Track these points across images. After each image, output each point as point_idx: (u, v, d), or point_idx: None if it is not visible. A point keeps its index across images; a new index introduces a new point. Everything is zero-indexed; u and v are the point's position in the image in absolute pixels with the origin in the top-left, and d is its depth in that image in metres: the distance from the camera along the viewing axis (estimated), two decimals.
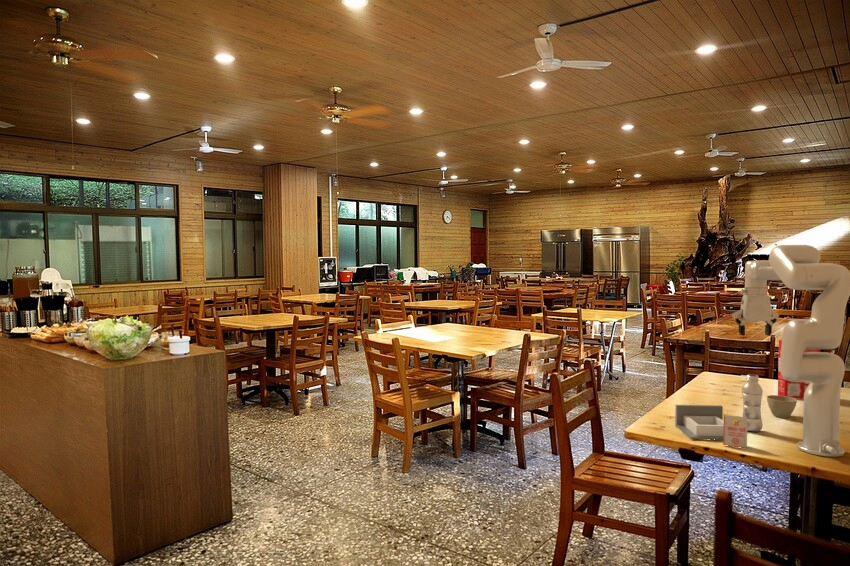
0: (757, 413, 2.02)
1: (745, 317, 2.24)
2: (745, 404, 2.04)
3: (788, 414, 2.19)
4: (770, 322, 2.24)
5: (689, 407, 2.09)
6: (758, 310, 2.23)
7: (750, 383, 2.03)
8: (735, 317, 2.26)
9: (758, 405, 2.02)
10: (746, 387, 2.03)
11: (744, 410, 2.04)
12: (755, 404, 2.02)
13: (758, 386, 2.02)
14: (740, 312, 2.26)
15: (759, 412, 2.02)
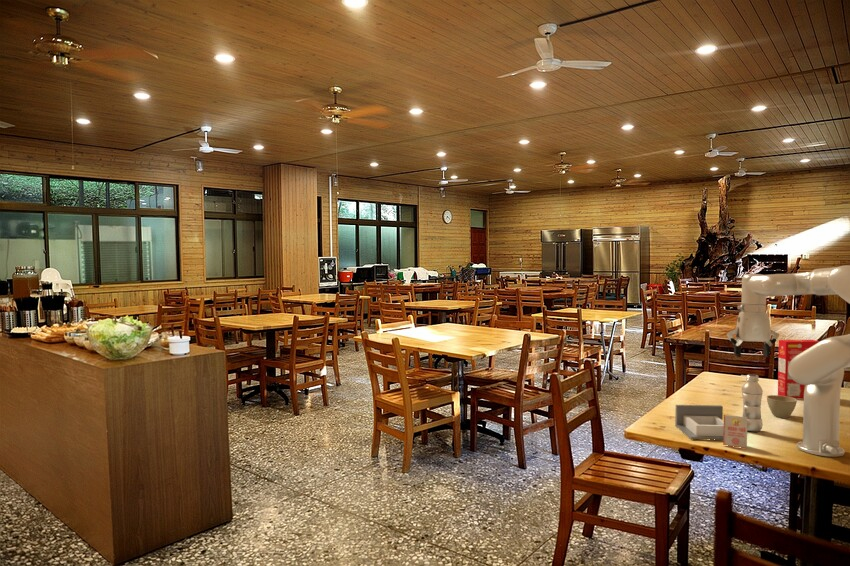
0: (757, 413, 2.02)
1: (741, 337, 2.01)
2: (745, 404, 2.04)
3: (788, 414, 2.19)
4: (769, 342, 2.02)
5: (689, 407, 2.09)
6: (756, 329, 2.00)
7: (750, 383, 2.03)
8: (730, 336, 2.03)
9: (758, 405, 2.02)
10: (746, 387, 2.03)
11: (744, 410, 2.04)
12: (755, 404, 2.02)
13: (758, 386, 2.02)
14: (736, 331, 2.03)
15: (759, 412, 2.02)
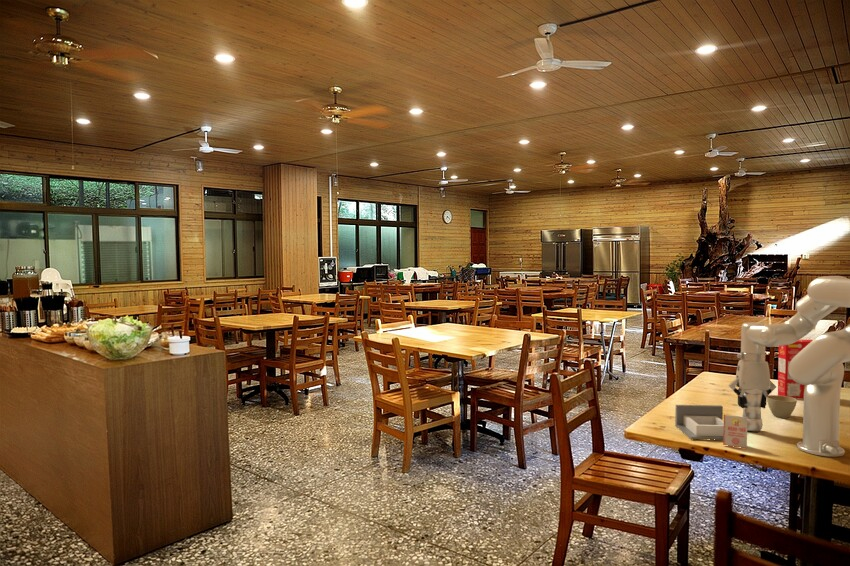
0: (757, 413, 2.02)
1: (741, 386, 2.02)
2: (745, 404, 2.04)
3: (788, 414, 2.19)
4: (765, 393, 2.02)
5: (689, 407, 2.09)
6: (755, 378, 2.01)
7: None
8: (733, 388, 2.04)
9: (758, 405, 2.02)
10: None
11: (744, 410, 2.04)
12: (755, 404, 2.02)
13: None
14: (736, 382, 2.04)
15: (759, 412, 2.02)
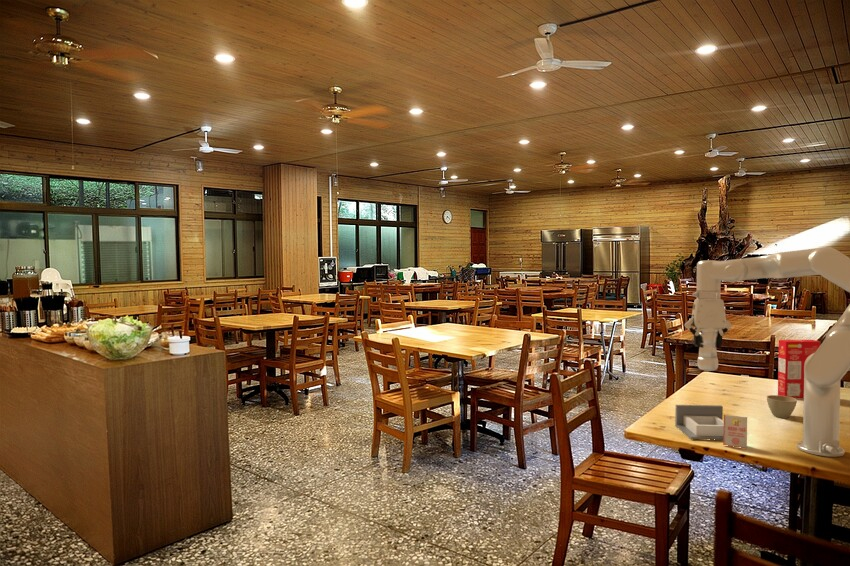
0: (712, 351, 1.98)
1: (696, 324, 1.99)
2: (701, 343, 2.00)
3: (788, 414, 2.19)
4: (721, 332, 1.99)
5: (689, 407, 2.09)
6: (710, 316, 1.98)
7: None
8: (689, 327, 2.01)
9: (713, 344, 1.99)
10: None
11: (700, 349, 2.01)
12: (710, 342, 1.98)
13: None
14: (691, 321, 2.00)
15: (715, 351, 1.99)
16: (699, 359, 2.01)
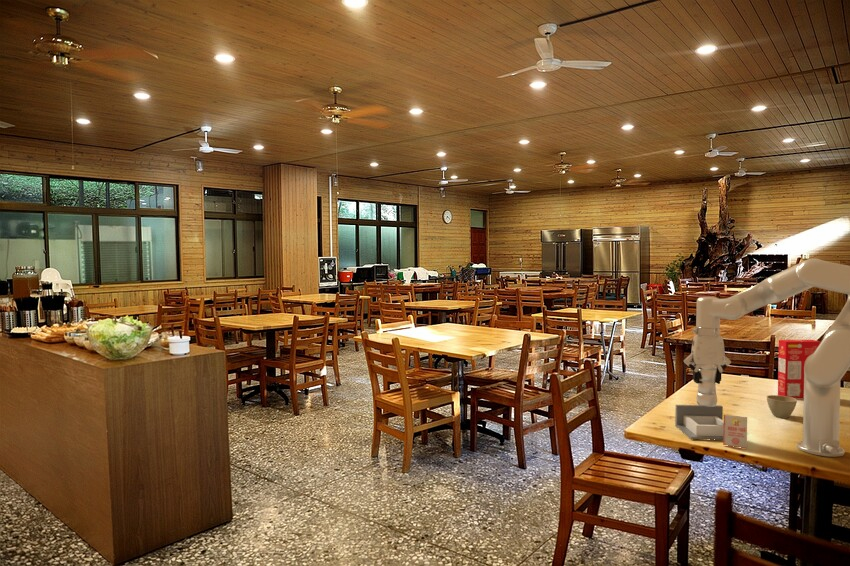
0: (711, 388, 1.99)
1: (695, 361, 1.99)
2: (700, 379, 2.01)
3: (788, 414, 2.19)
4: (720, 368, 2.00)
5: (689, 407, 2.09)
6: (710, 353, 1.98)
7: None
8: (688, 363, 2.01)
9: (712, 381, 1.99)
10: None
11: (699, 385, 2.02)
12: (709, 379, 1.99)
13: None
14: (690, 358, 2.01)
15: (714, 387, 1.99)
16: (698, 395, 2.01)
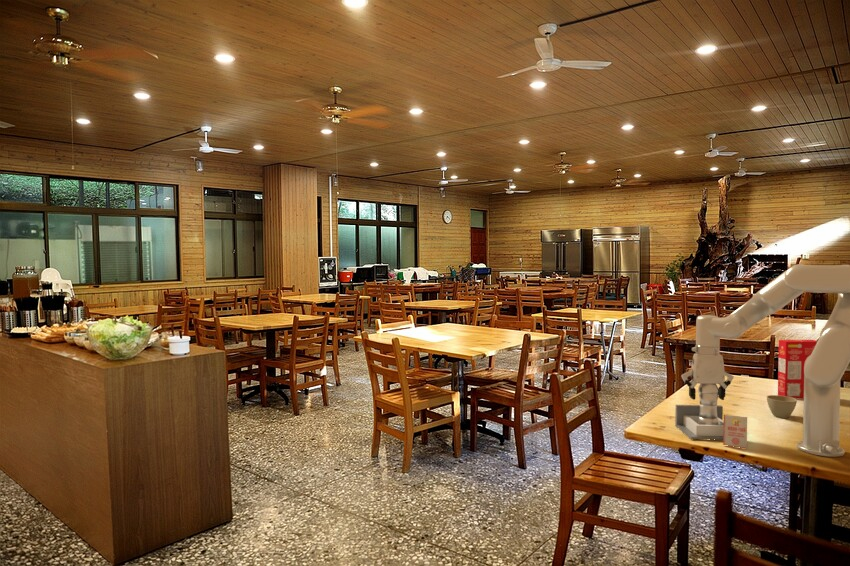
0: (713, 412, 1.99)
1: (695, 379, 1.99)
2: (701, 403, 2.01)
3: (788, 414, 2.19)
4: (723, 385, 2.00)
5: (689, 407, 2.09)
6: (710, 372, 1.98)
7: None
8: (685, 379, 2.02)
9: (714, 405, 1.99)
10: (702, 386, 2.00)
11: (700, 409, 2.02)
12: (710, 403, 1.99)
13: (714, 385, 1.99)
14: (690, 373, 2.01)
15: (715, 411, 2.00)
16: (699, 419, 2.02)
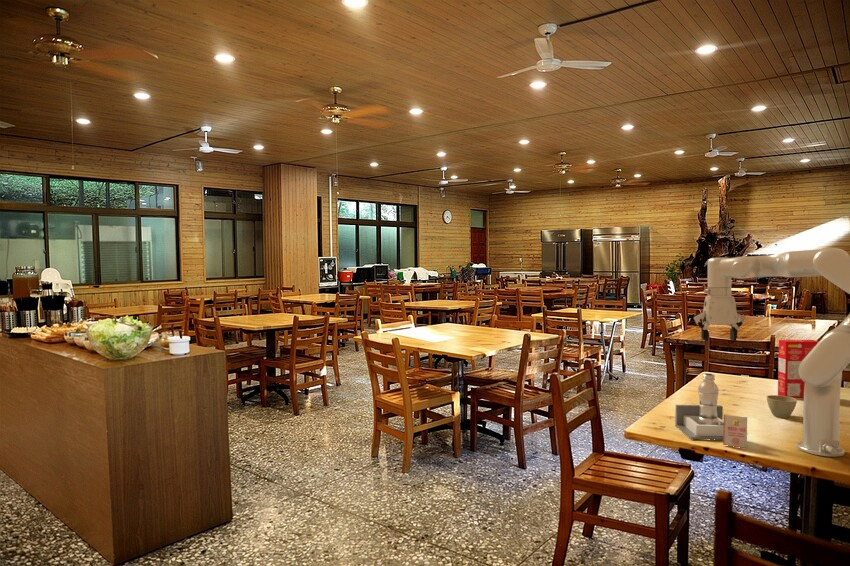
0: (713, 412, 1.99)
1: (708, 320, 2.01)
2: (701, 403, 2.01)
3: (788, 414, 2.19)
4: (735, 326, 2.02)
5: (689, 407, 2.09)
6: (722, 312, 2.00)
7: (706, 382, 2.00)
8: (697, 321, 2.03)
9: (714, 405, 1.99)
10: (702, 386, 2.00)
11: (700, 409, 2.02)
12: (710, 403, 1.99)
13: (714, 385, 1.99)
14: (703, 315, 2.03)
15: (715, 411, 2.00)
16: (699, 419, 2.02)
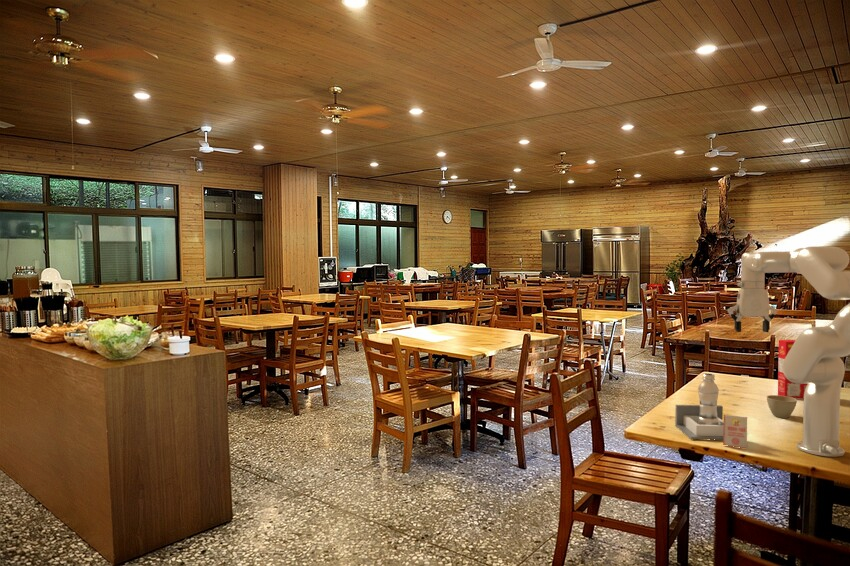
0: (713, 412, 1.99)
1: (741, 312, 2.10)
2: (701, 403, 2.01)
3: (788, 414, 2.19)
4: (768, 318, 2.11)
5: (689, 407, 2.09)
6: (755, 305, 2.09)
7: (706, 382, 2.00)
8: (731, 312, 2.12)
9: (714, 405, 1.99)
10: (702, 386, 2.00)
11: (700, 409, 2.02)
12: (710, 403, 1.99)
13: (714, 385, 1.99)
14: (736, 307, 2.12)
15: (715, 411, 2.00)
16: (699, 419, 2.02)
